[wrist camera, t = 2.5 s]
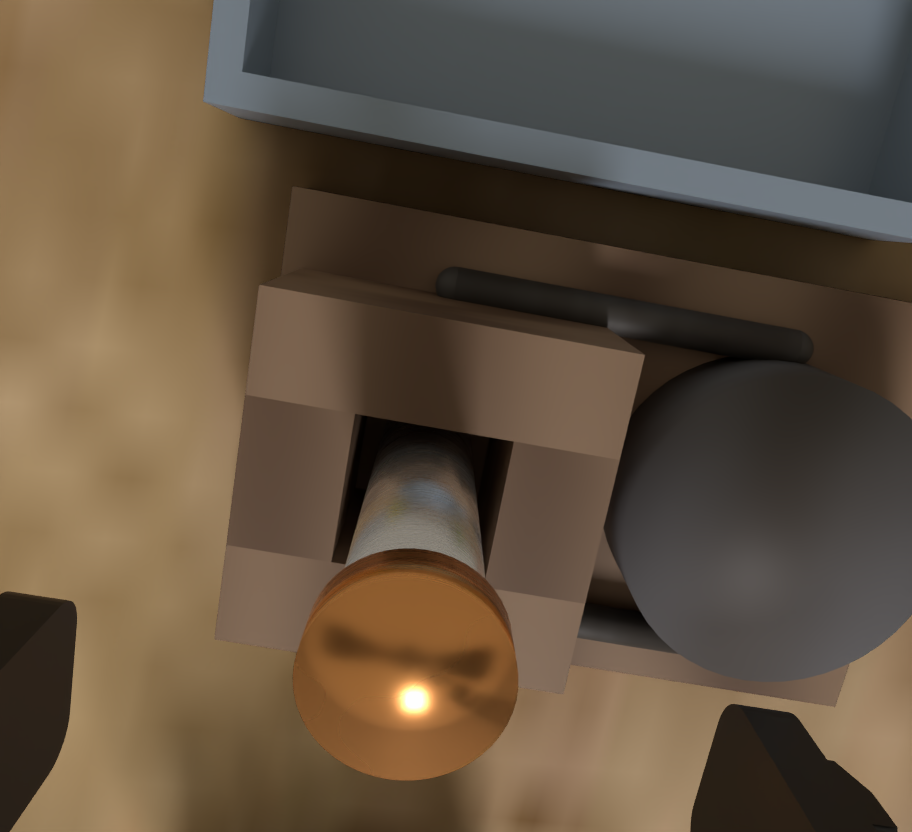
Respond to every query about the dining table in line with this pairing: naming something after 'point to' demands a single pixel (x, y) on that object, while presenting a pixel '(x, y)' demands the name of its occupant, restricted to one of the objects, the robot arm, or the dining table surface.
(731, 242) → the dining table surface
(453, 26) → the tray
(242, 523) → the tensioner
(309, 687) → the lock pin
